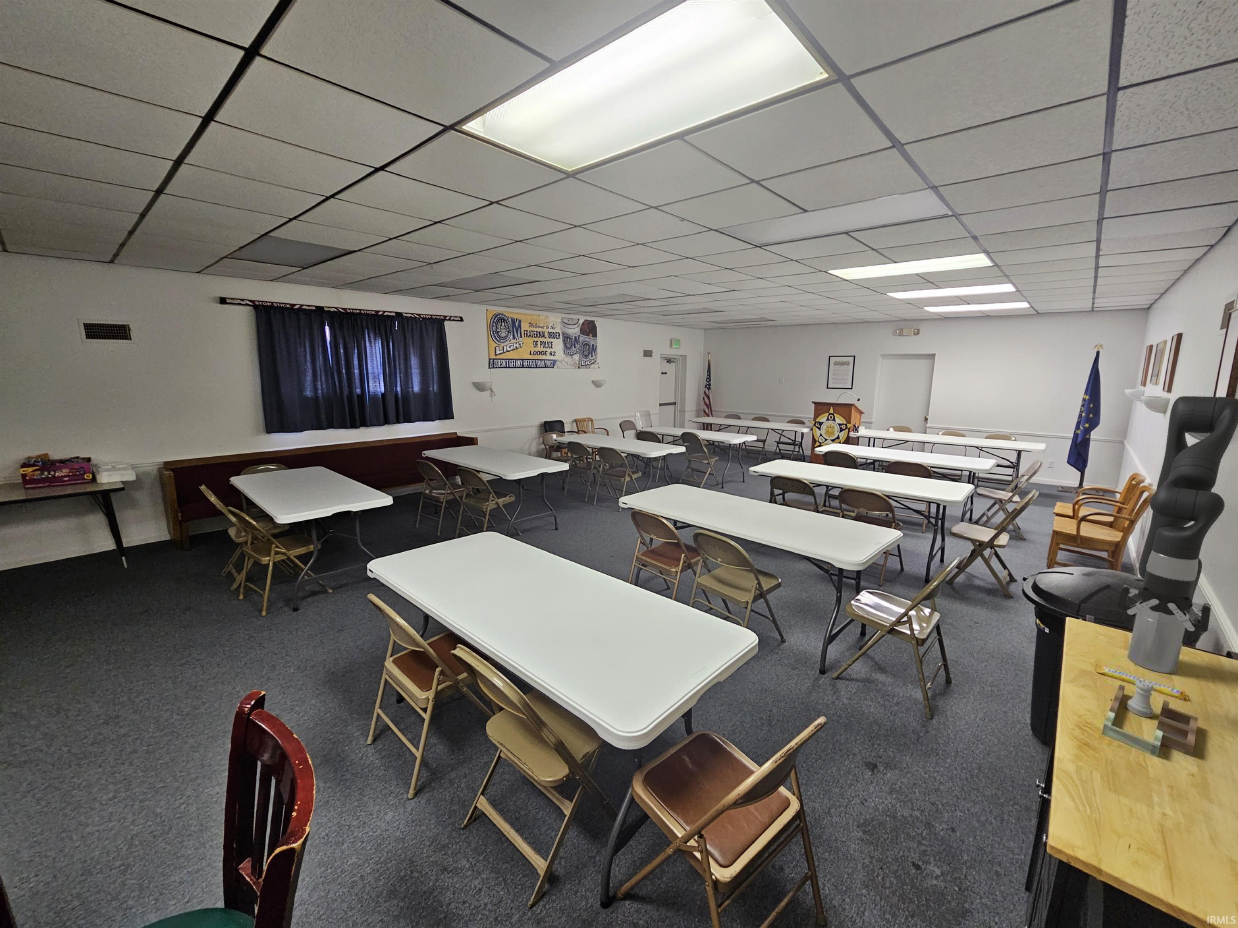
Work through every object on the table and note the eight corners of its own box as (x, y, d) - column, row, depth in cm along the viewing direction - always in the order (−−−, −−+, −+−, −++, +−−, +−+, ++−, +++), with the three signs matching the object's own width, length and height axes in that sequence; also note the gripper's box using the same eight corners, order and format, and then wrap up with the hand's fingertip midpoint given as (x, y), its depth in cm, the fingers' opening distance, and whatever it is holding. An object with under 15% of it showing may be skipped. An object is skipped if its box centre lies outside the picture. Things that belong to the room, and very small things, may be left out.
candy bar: (1186, 696, 121) (1188, 690, 121) (1187, 704, 118) (1189, 697, 118) (1094, 667, 133) (1095, 661, 133) (1093, 673, 130) (1094, 667, 130)
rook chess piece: (1137, 704, 118) (1144, 676, 116) (1158, 717, 113) (1165, 688, 112) (1120, 705, 117) (1126, 676, 116) (1140, 718, 113) (1147, 688, 112)
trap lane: (1118, 692, 122) (1119, 684, 122) (1196, 720, 112) (1198, 711, 112) (1101, 733, 108) (1103, 724, 108) (1189, 770, 98) (1192, 760, 98)
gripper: (1220, 577, 107) (1204, 642, 110) (1128, 558, 118) (1116, 617, 121) (1218, 587, 102) (1202, 654, 106) (1123, 567, 113) (1111, 628, 117)
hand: (1156, 634), depth 113 cm, fingers open, 8 cm apart
